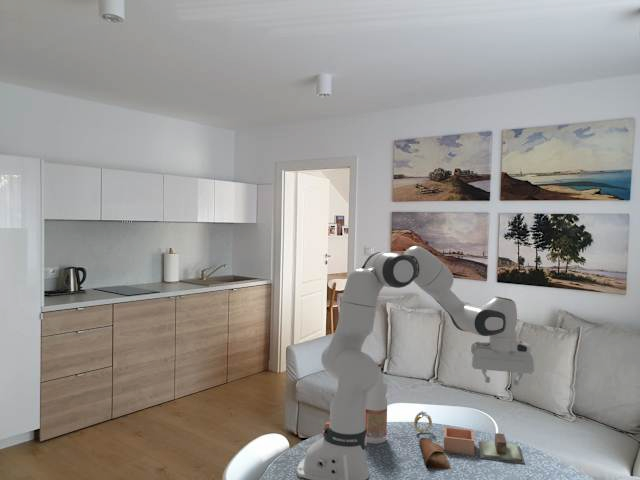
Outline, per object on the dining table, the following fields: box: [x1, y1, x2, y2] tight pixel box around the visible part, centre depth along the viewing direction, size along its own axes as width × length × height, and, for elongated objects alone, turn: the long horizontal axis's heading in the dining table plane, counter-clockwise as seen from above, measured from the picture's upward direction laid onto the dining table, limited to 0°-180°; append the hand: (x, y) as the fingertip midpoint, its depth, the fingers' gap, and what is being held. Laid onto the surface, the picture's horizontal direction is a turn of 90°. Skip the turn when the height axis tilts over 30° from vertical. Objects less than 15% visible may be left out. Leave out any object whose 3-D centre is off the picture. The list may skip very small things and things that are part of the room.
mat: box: [477, 441, 526, 465], centre depth 172 cm, size 14×14×1 cm
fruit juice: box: [365, 360, 388, 445], centre depth 181 cm, size 9×9×28 cm
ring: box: [413, 410, 433, 434], centre depth 189 cm, size 7×3×8 cm, turn 101°
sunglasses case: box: [418, 437, 452, 470], centre depth 168 cm, size 18×7×7 cm
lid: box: [480, 432, 521, 461], centre depth 172 cm, size 12×12×5 cm
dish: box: [443, 426, 475, 456], centre depth 176 cm, size 10×10×5 cm
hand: (501, 383), depth 172 cm, fingers open, 8 cm apart
